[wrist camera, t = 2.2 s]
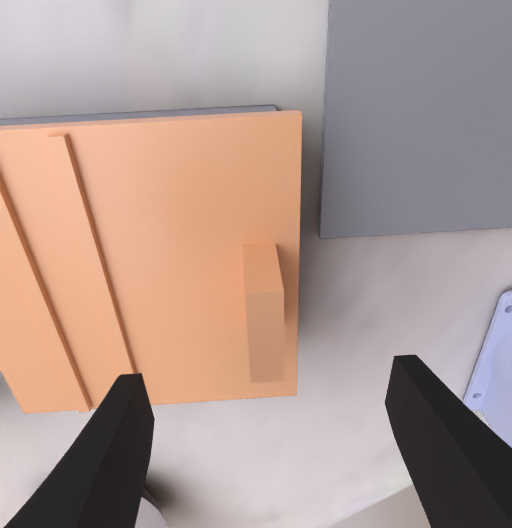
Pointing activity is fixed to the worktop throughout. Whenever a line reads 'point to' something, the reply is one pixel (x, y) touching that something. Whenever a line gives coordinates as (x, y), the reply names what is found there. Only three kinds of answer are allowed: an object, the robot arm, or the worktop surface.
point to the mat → (416, 117)
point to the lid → (150, 258)
